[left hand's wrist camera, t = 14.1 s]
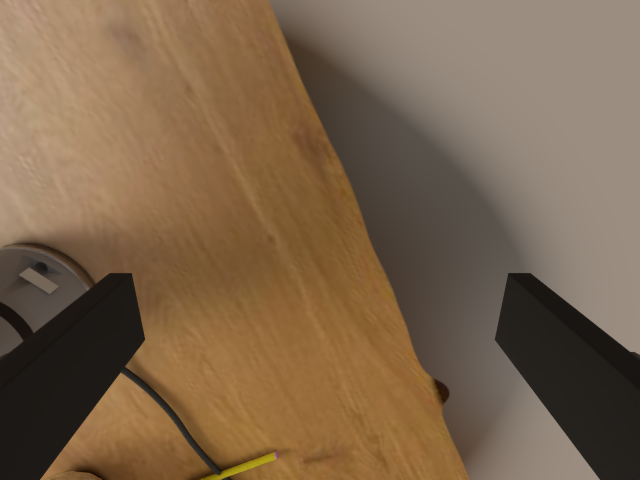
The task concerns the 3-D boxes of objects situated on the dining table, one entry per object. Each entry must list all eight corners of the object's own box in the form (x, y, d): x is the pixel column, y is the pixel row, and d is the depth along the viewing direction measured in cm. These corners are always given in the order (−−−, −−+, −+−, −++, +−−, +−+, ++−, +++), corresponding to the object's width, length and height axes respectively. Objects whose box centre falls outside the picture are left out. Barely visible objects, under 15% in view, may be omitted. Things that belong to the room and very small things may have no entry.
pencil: (276, 449, 54) (275, 455, 53) (279, 453, 54) (278, 459, 54) (184, 483, 57) (182, 489, 56) (188, 487, 57) (186, 493, 56)
